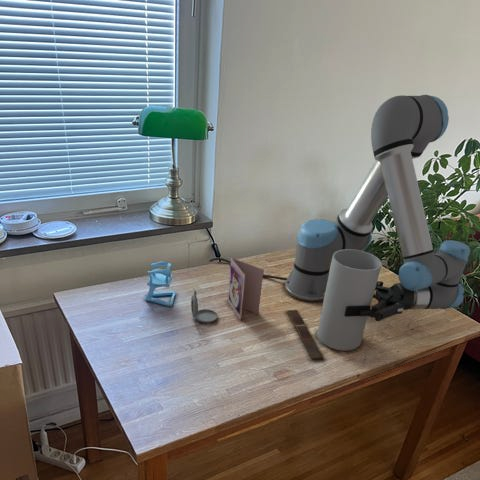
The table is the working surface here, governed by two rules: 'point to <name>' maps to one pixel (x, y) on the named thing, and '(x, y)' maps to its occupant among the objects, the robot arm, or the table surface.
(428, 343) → the table surface
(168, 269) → the chair
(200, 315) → the pocket watch
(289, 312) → the ruler
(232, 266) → the greeting card
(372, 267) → the cylinder vase
